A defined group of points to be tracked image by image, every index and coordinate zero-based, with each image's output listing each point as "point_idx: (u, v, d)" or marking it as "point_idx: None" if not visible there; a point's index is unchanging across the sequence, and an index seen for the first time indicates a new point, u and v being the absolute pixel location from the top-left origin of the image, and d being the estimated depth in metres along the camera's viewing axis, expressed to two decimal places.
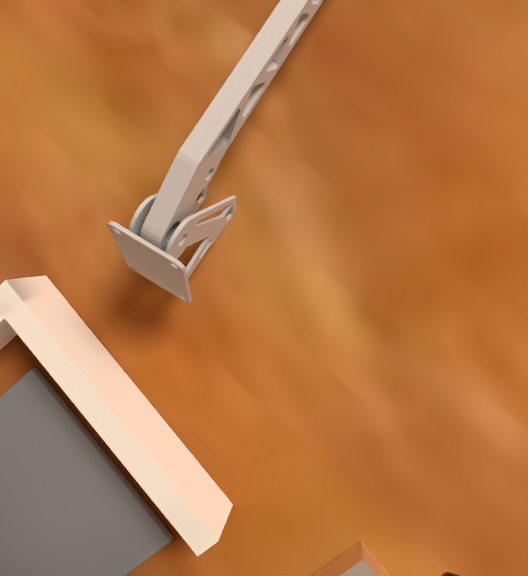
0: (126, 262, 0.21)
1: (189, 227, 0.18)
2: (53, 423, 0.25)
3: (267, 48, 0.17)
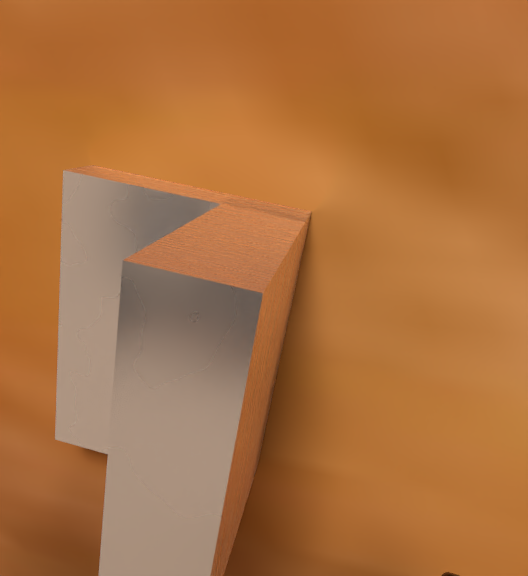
0: None
1: None
2: None
3: None
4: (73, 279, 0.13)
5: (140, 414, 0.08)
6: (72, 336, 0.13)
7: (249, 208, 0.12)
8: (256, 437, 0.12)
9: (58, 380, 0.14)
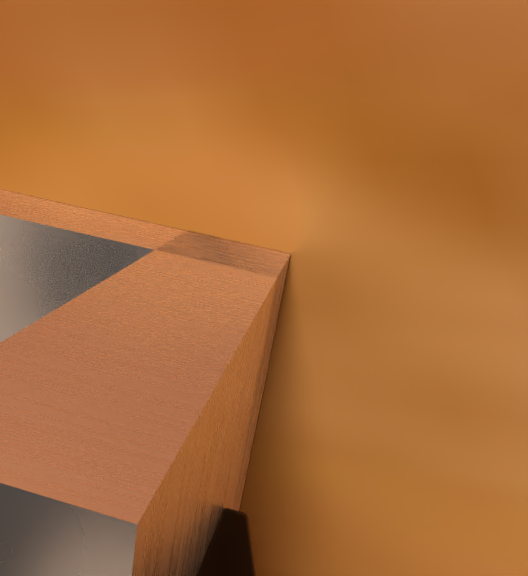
0: None
1: None
2: None
3: None
4: None
5: None
6: None
7: (197, 256, 0.08)
8: None
9: None
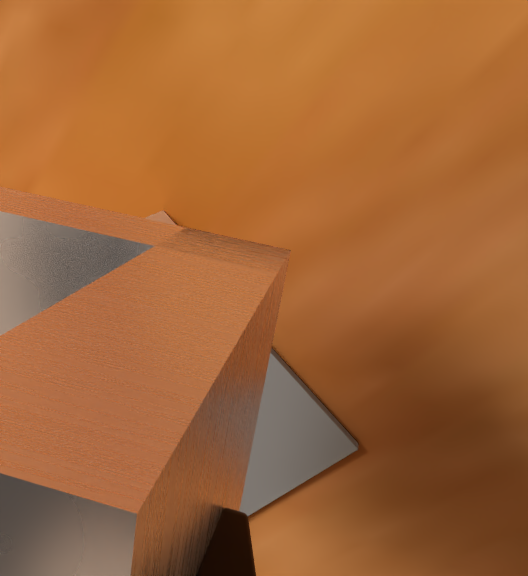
0: None
1: None
2: None
3: None
4: None
5: None
6: None
7: (197, 252, 0.08)
8: None
9: None
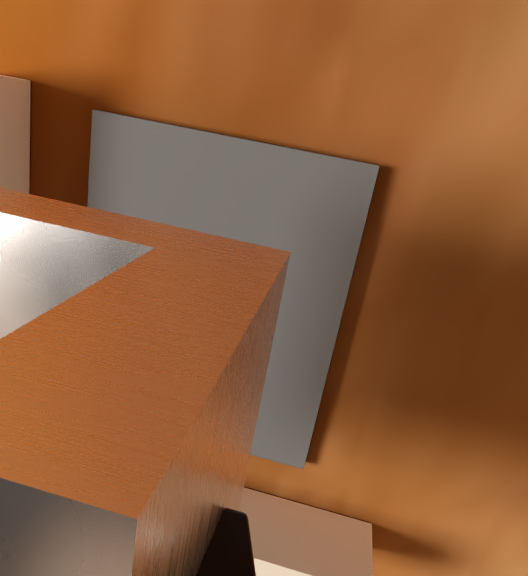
0: None
1: None
2: None
3: None
4: None
5: None
6: None
7: (197, 253, 0.08)
8: None
9: None
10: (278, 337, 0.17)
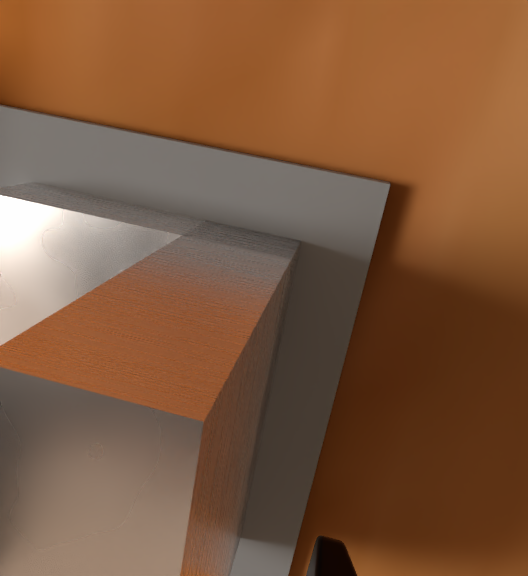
0: None
1: None
2: None
3: None
4: (1, 327, 0.10)
5: None
6: None
7: (219, 240, 0.09)
8: (229, 536, 0.09)
9: None
10: None
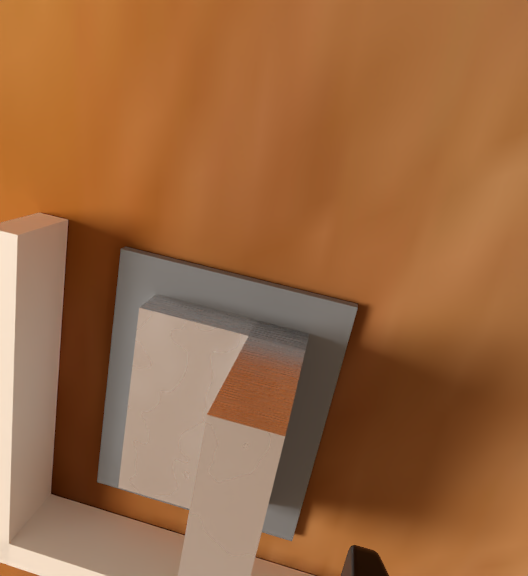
0: None
1: None
2: (122, 436, 0.21)
3: None
4: (140, 378, 0.18)
5: (210, 496, 0.13)
6: (137, 416, 0.19)
7: (267, 338, 0.17)
8: None
9: (123, 446, 0.19)
10: None
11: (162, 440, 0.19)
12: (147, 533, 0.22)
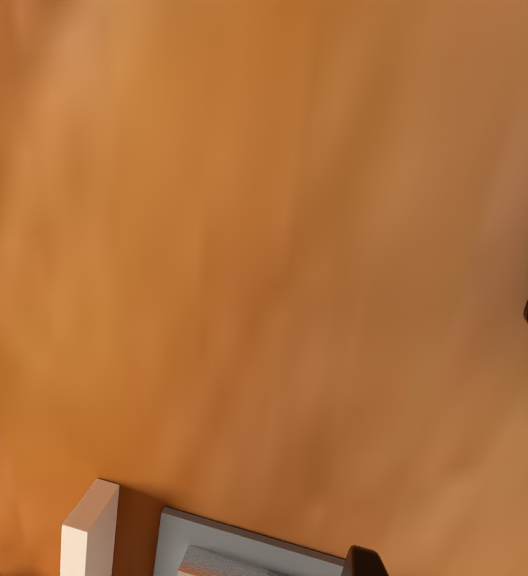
0: None
1: None
2: None
3: None
4: None
5: None
6: None
7: None
8: None
9: None
10: None
11: None
12: None
